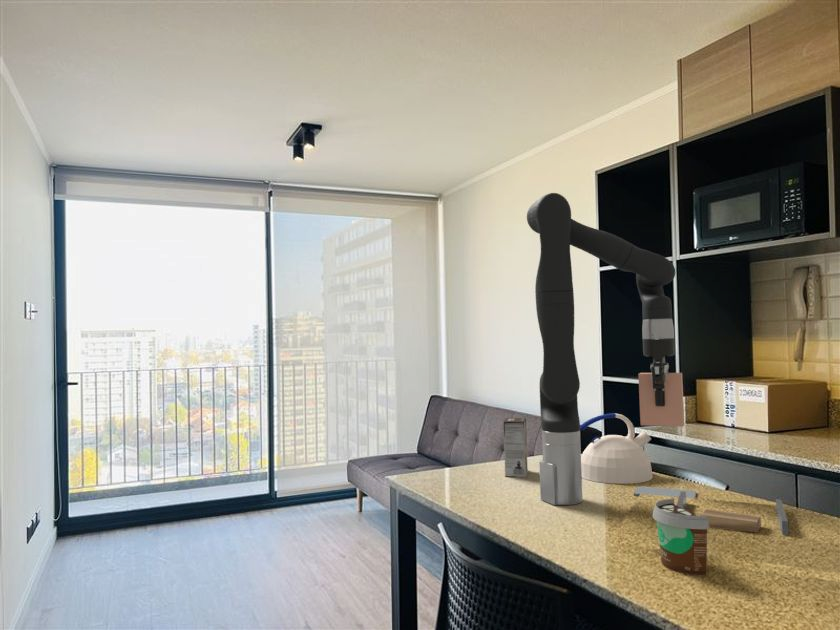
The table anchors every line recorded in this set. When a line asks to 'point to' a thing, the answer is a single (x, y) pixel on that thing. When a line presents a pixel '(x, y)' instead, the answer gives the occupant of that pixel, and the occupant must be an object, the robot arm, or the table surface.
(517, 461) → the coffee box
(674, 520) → the food container
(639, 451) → the kettle
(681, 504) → the rack
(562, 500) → the robot arm
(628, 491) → the table surface
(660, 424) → the tall sheet
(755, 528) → the offcut top
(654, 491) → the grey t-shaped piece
